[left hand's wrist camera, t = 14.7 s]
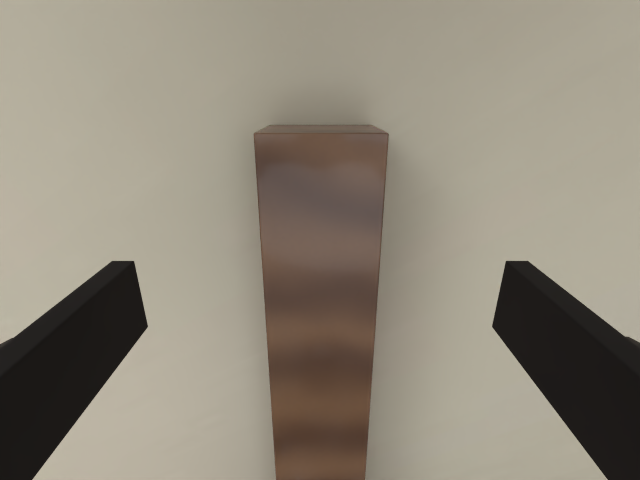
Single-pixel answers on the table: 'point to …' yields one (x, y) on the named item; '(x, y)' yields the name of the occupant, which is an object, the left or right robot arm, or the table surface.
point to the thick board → (320, 290)
